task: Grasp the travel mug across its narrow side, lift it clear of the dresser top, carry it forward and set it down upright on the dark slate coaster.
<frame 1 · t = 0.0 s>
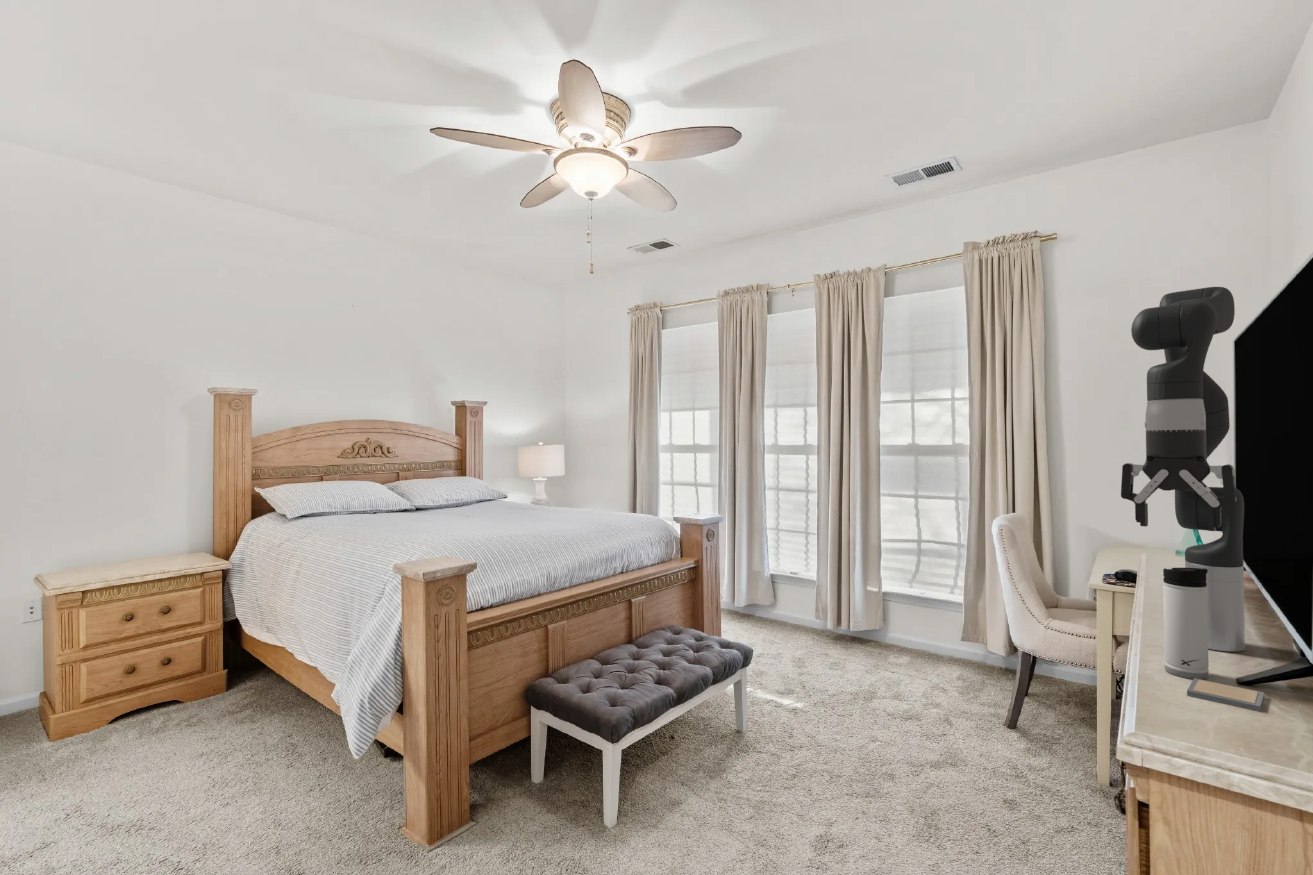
hand: (1176, 528, 101), 29 cm above the dresser top, fingers open, 8 cm apart
travel mug: (1187, 674, 116), on the dresser top
slate coaster: (1225, 696, 106), on the dresser top
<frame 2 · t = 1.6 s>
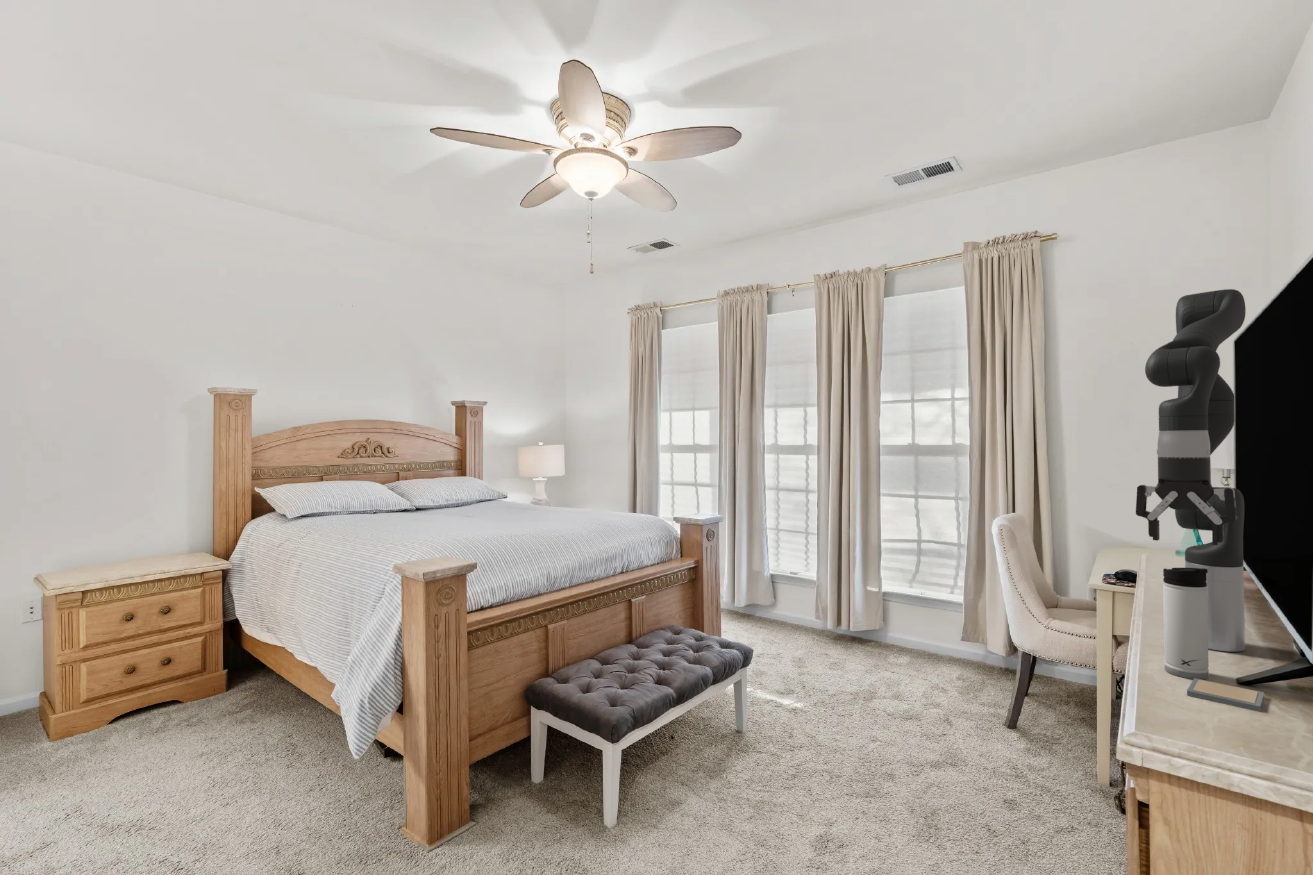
hand: (1185, 542, 117), 24 cm above the dresser top, fingers open, 8 cm apart
nothing on the dresser top moved.
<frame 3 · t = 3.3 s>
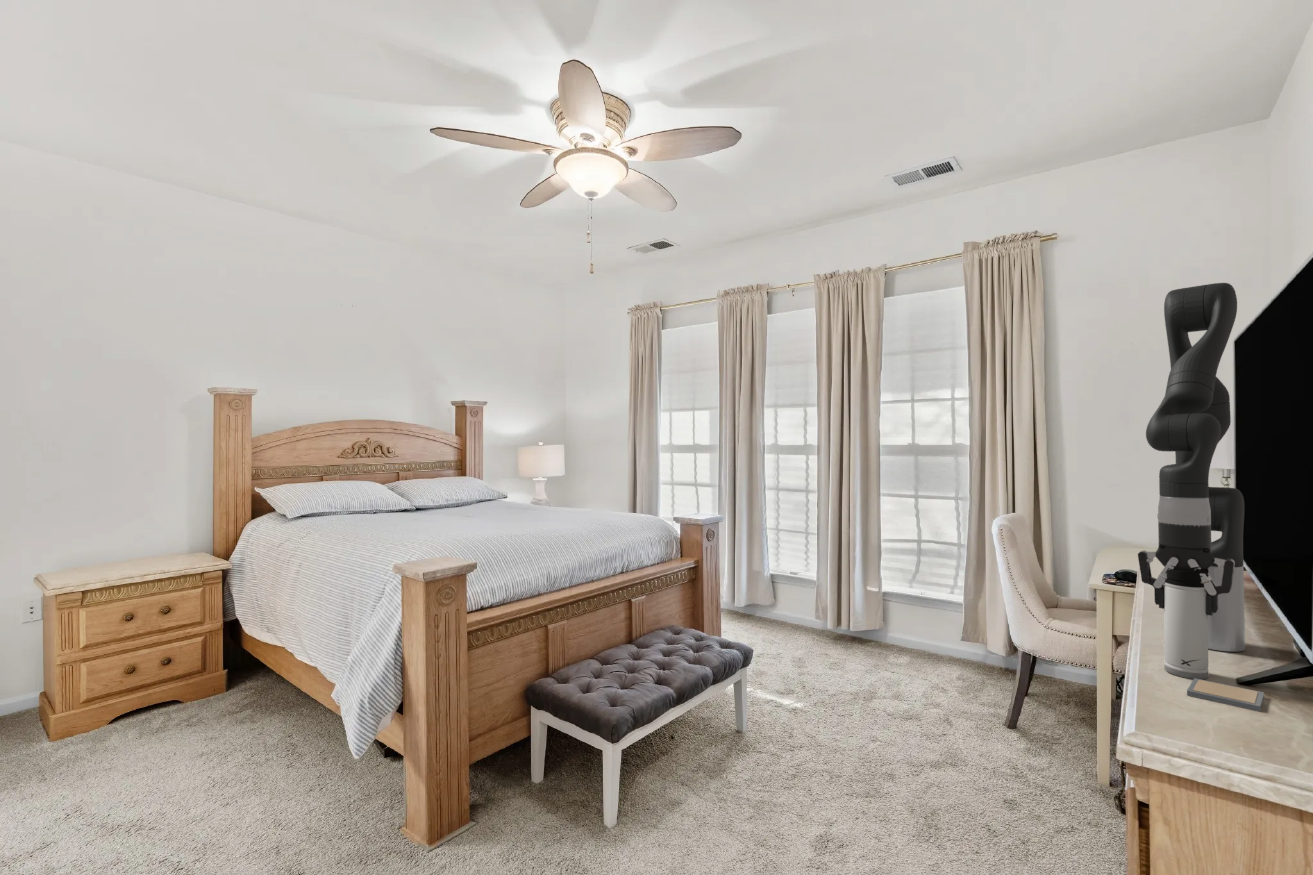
hand: (1185, 610, 116), 12 cm above the dresser top, fingers closed on travel mug, 6 cm apart
travel mug: (1187, 674, 116), on the dresser top, touching gripper
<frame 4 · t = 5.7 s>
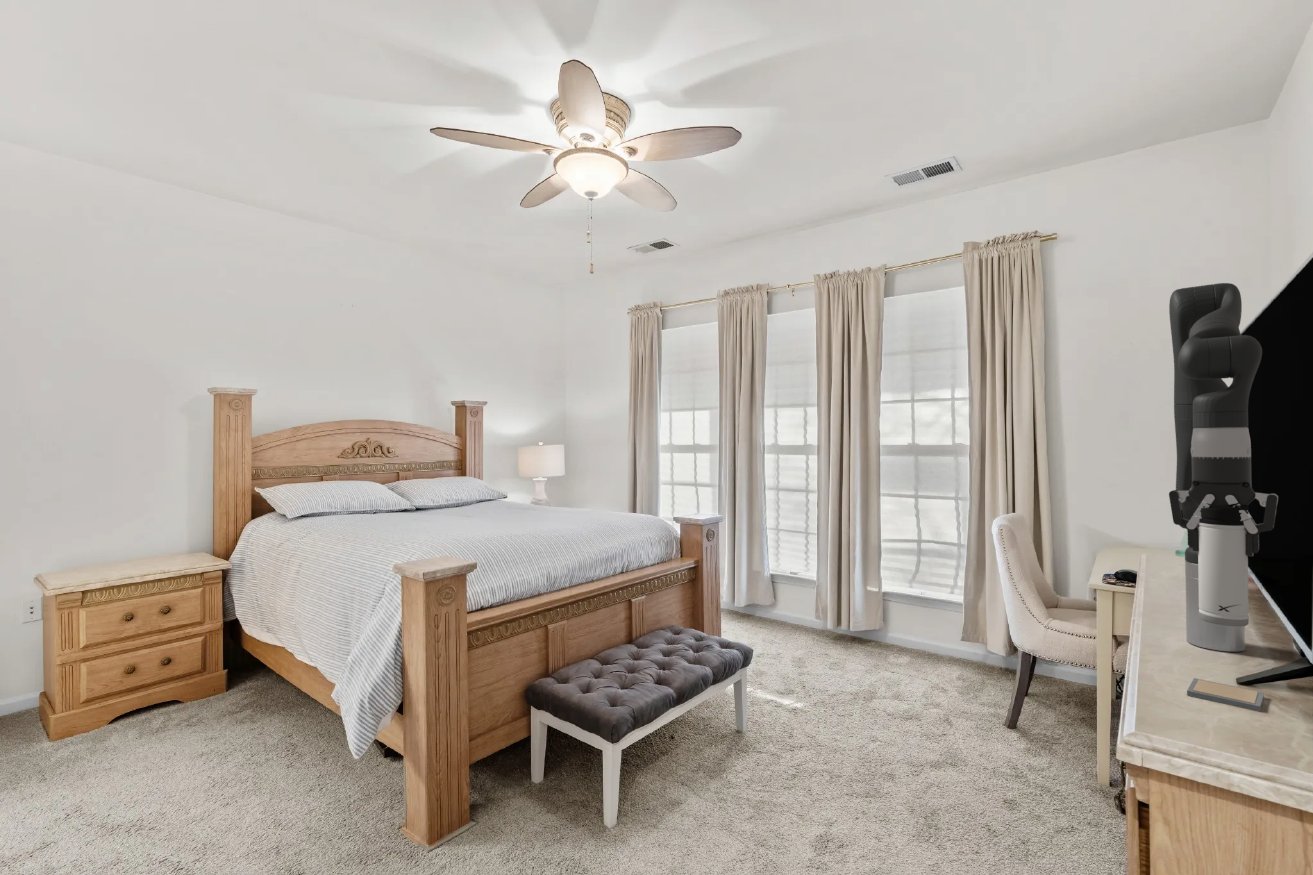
hand: (1222, 552, 106), 24 cm above the dresser top, fingers closed on travel mug, 6 cm apart
travel mug: (1224, 622, 106), point 12 cm above the dresser top, touching gripper
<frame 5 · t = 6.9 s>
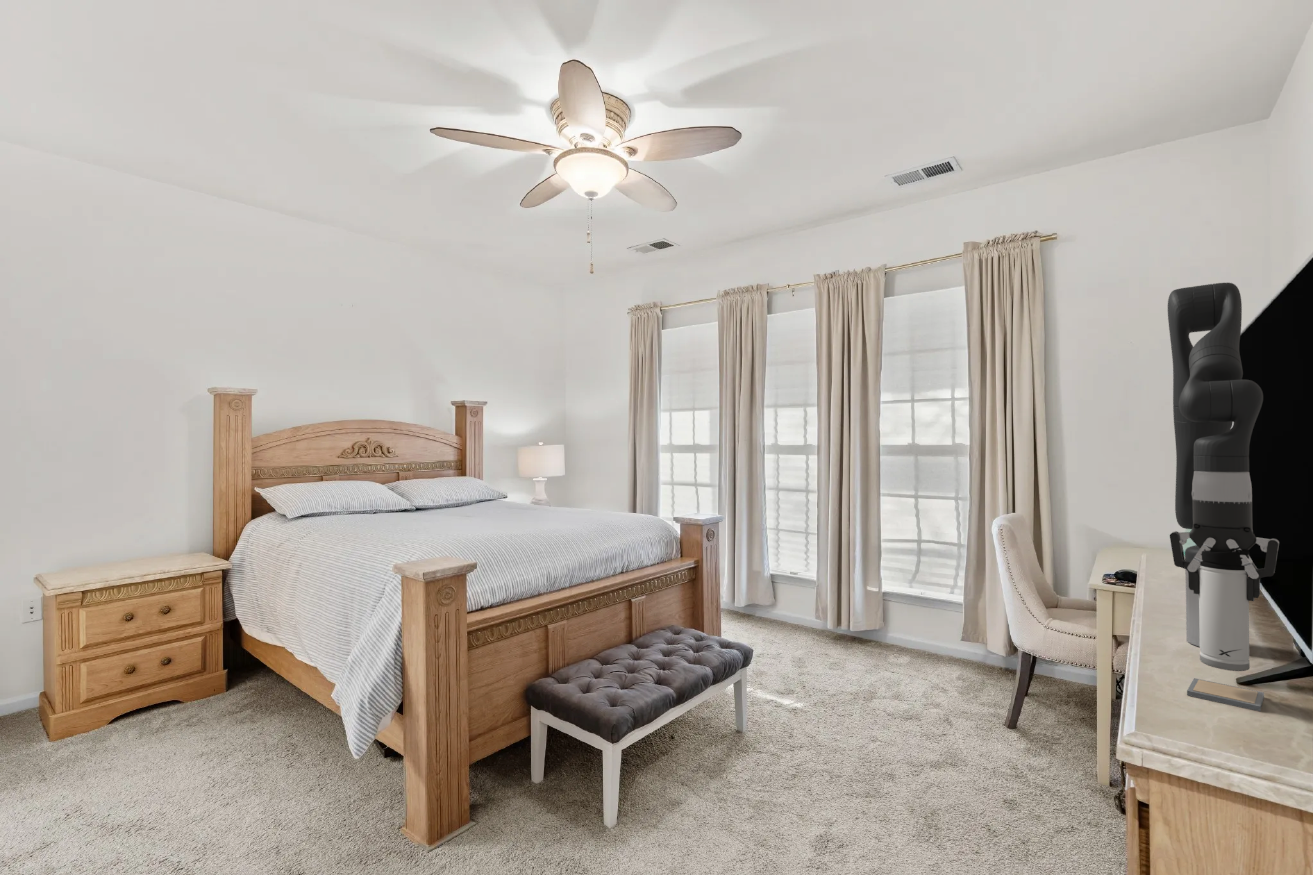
hand: (1223, 596, 106), 17 cm above the dresser top, fingers closed on travel mug, 6 cm apart
travel mug: (1225, 666, 106), point 5 cm above the dresser top, touching gripper
when the fingers open (13 cm above the dresser top, at t = 8.2 s): travel mug stays where it is, resting on slate coaster.
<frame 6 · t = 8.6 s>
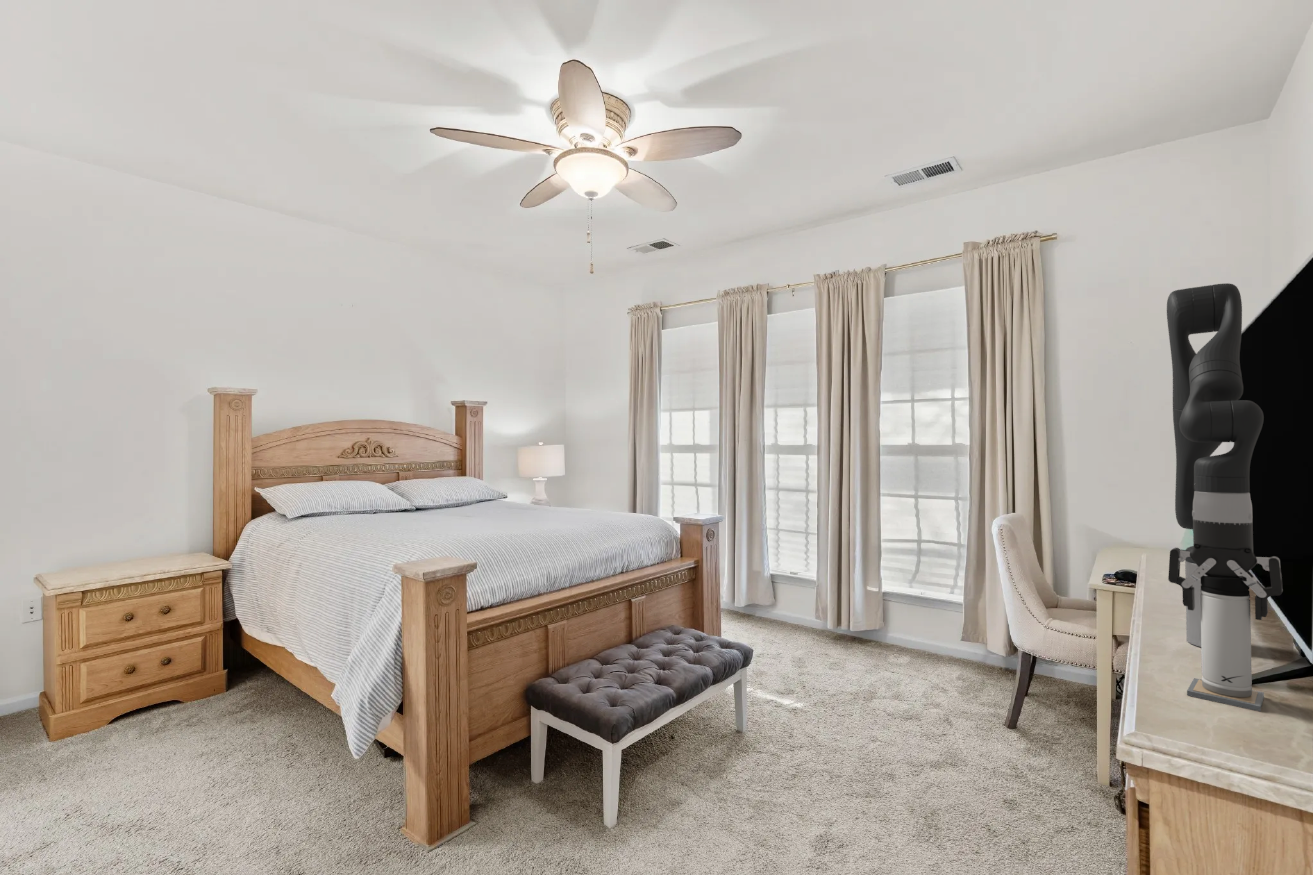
hand: (1223, 614, 106), 14 cm above the dresser top, fingers open, 8 cm apart
travel mug: (1227, 692, 106), point 1 cm above the dresser top, touching slate coaster
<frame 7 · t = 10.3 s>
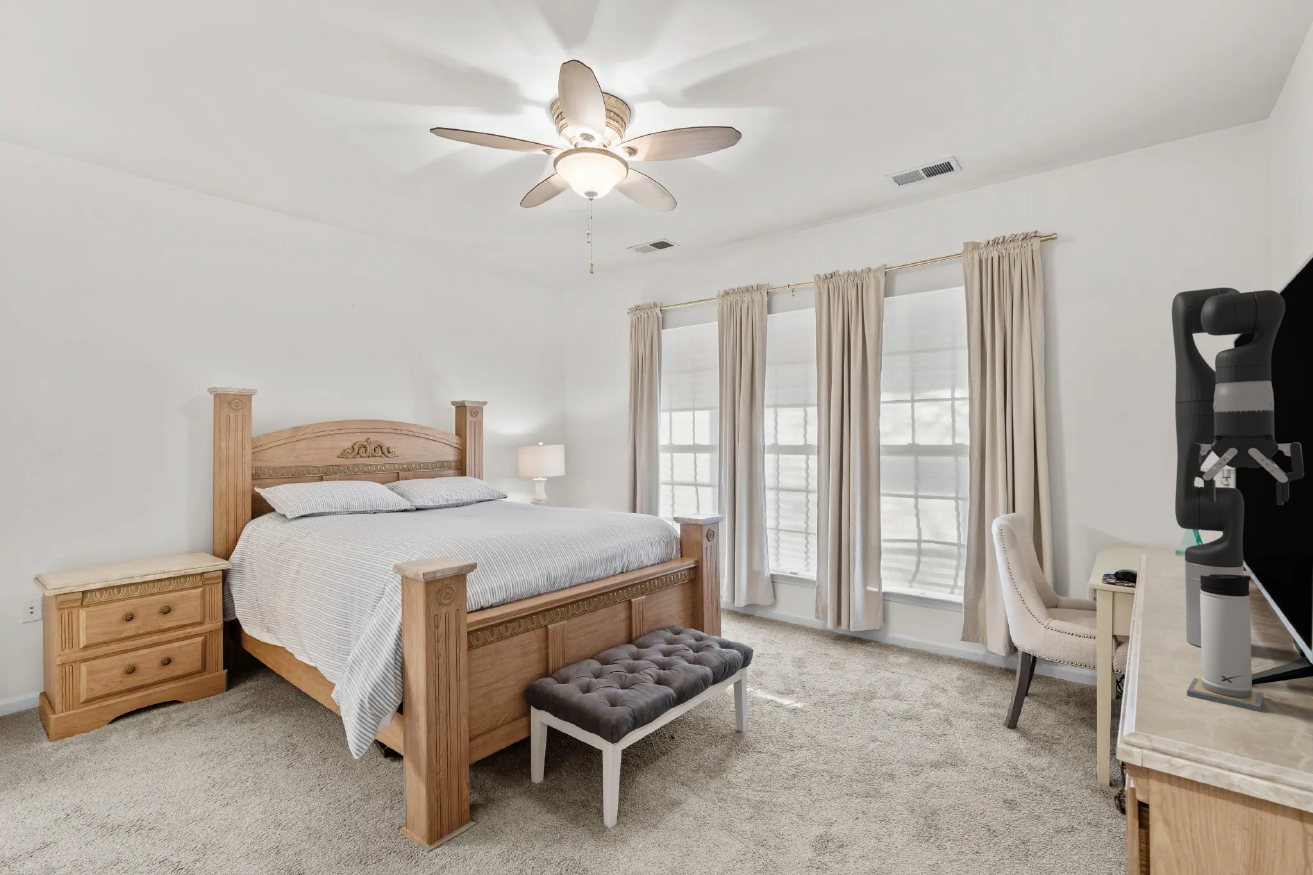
hand: (1245, 502, 108), 32 cm above the dresser top, fingers open, 8 cm apart
nothing on the dresser top moved.
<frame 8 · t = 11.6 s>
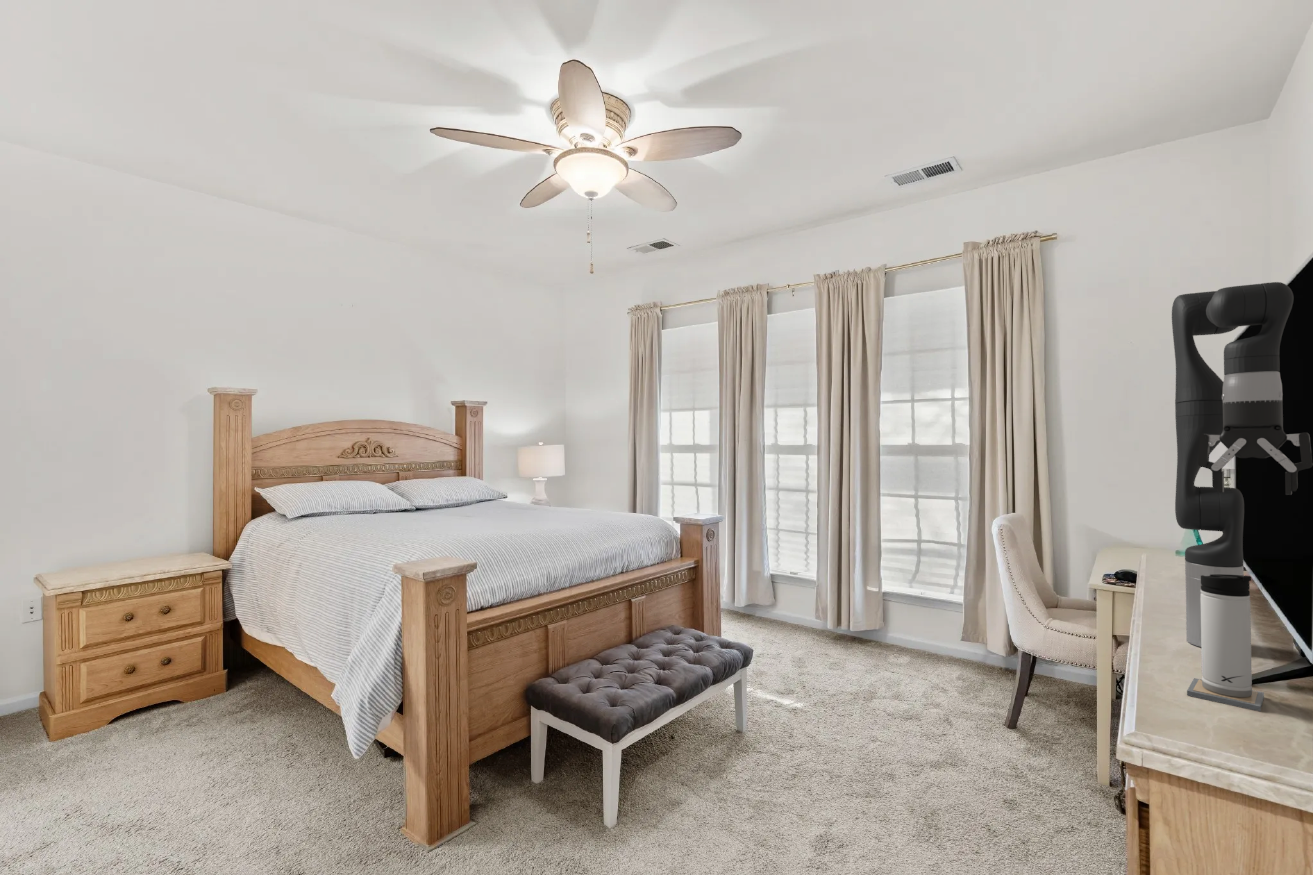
hand: (1253, 493, 109), 34 cm above the dresser top, fingers open, 8 cm apart
nothing on the dresser top moved.
at the end: travel mug inside the target area on the slate coaster (0.4 cm from its centre), point 0.7 cm above the slate coaster's base; travel mug tilted 0°; the gripper is holding nothing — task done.
